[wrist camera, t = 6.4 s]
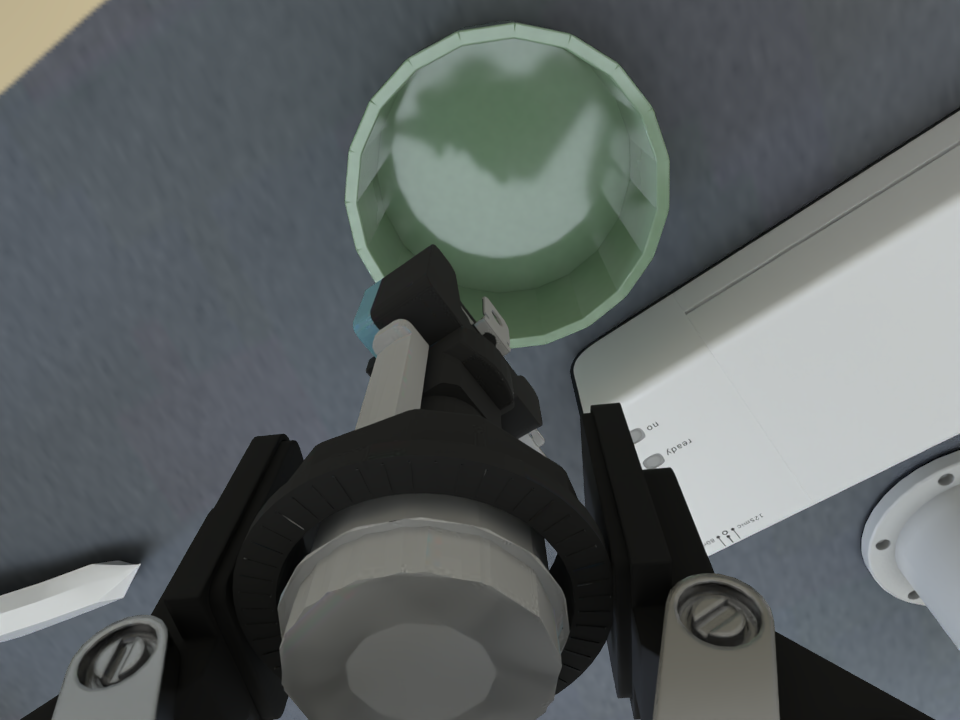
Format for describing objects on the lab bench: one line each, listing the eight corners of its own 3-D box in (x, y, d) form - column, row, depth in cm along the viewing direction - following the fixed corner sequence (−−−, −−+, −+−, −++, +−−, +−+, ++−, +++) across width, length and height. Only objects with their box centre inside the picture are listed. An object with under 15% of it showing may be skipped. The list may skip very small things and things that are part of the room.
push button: (611, 392, 18) (746, 755, 9) (455, 480, 19) (439, 871, 10) (473, 195, 15) (472, 429, 6) (305, 313, 17) (111, 640, 8)
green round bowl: (637, 0, 26) (671, -2, 22) (641, 283, 32) (668, 330, 28) (340, 45, 27) (308, 53, 22) (397, 312, 33) (382, 363, 28)
